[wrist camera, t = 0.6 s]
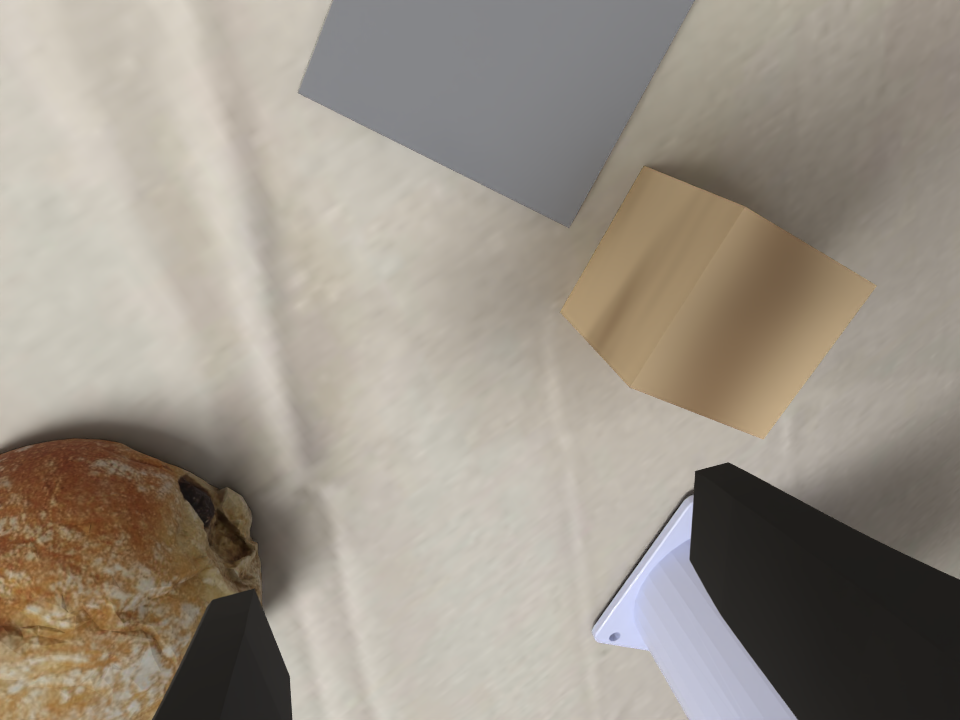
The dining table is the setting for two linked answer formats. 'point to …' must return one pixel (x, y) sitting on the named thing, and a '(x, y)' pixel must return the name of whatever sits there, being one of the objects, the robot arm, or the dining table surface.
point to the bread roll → (108, 576)
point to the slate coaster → (496, 84)
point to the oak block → (710, 303)
